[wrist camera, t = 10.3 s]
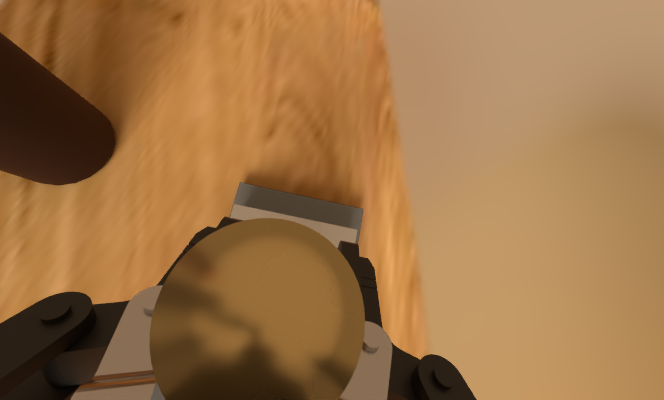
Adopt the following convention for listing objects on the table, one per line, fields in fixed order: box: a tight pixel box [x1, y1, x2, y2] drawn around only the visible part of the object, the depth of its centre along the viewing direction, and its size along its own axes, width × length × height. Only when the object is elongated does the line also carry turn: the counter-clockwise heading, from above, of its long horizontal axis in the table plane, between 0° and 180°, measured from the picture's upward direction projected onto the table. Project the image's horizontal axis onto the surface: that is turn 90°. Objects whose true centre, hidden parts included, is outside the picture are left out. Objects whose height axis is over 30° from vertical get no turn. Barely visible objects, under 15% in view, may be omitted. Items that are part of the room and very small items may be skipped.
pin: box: [150, 218, 365, 400], centre depth 10 cm, size 4×4×10 cm
